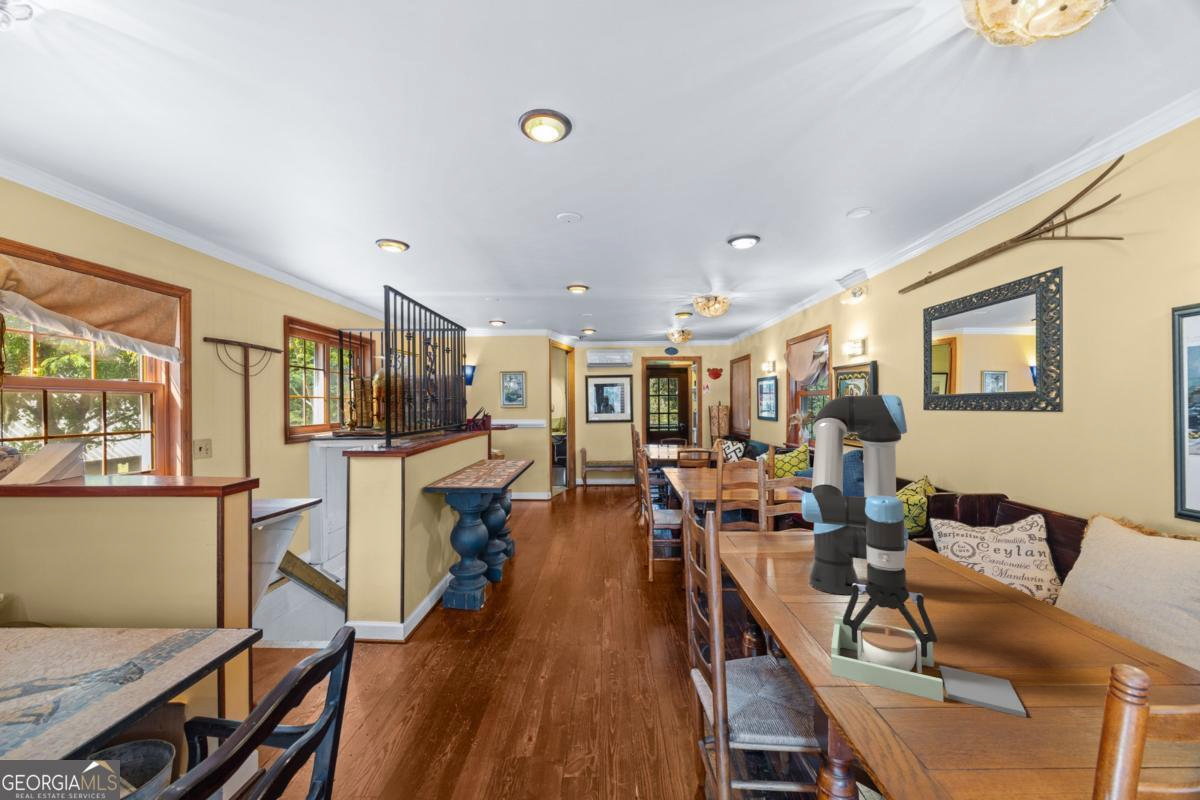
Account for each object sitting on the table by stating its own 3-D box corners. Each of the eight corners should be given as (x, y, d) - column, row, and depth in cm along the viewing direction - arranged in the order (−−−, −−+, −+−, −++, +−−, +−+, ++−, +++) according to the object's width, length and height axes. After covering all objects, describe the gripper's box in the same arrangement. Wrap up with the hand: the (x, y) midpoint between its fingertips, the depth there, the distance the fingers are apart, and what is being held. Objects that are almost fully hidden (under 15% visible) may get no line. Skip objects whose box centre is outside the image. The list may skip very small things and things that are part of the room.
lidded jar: (927, 686, 98) (925, 641, 98) (872, 681, 100) (870, 637, 100) (904, 659, 108) (903, 619, 108) (855, 655, 110) (853, 616, 110)
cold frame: (835, 643, 116) (834, 615, 116) (933, 664, 106) (932, 634, 106) (831, 674, 103) (830, 642, 103) (943, 702, 93) (942, 666, 93)
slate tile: (939, 669, 104) (939, 665, 104) (1008, 684, 98) (1008, 680, 98) (948, 698, 94) (947, 693, 94) (1026, 717, 88) (1025, 712, 88)
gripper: (828, 562, 107) (830, 658, 107) (952, 579, 95) (955, 686, 95) (830, 553, 114) (832, 643, 113) (946, 568, 102) (949, 668, 101)
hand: (888, 663), depth 104 cm, fingers closed on lidded jar, 11 cm apart
